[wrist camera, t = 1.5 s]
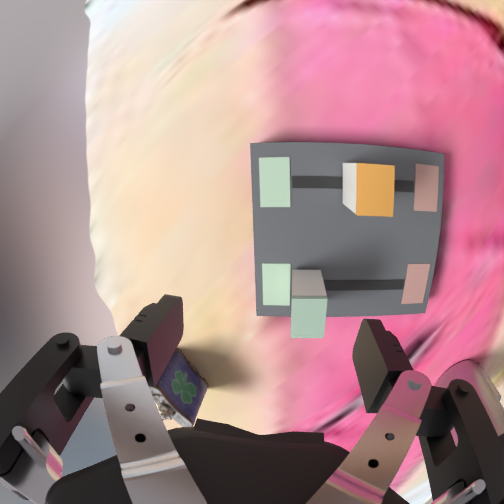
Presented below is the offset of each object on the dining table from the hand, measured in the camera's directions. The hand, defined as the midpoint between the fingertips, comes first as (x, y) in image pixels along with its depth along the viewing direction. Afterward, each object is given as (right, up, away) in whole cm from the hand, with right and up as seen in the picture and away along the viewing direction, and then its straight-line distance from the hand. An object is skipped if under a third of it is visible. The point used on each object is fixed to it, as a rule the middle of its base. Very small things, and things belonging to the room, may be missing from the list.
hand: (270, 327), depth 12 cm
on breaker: (+5, 0, +18) cm, 18 cm away
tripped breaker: (+10, +10, +14) cm, 19 cm away
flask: (-11, -15, +29) cm, 34 cm away
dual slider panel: (+10, +6, +19) cm, 22 cm away
